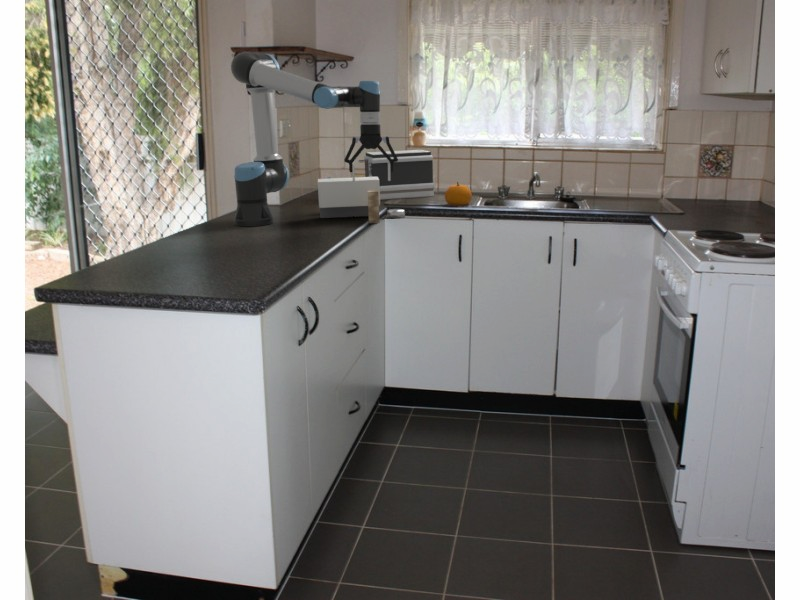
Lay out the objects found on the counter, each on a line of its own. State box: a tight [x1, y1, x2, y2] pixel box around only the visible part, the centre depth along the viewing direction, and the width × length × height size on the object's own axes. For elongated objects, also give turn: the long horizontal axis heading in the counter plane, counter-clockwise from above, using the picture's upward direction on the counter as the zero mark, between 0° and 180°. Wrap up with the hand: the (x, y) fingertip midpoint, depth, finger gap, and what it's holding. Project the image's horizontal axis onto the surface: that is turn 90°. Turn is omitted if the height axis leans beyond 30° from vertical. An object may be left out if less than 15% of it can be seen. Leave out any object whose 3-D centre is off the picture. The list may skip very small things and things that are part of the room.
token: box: [386, 208, 406, 220], centre depth 301 cm, size 7×7×3 cm
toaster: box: [358, 149, 435, 201], centre depth 360 cm, size 18×34×21 cm, turn 105°
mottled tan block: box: [368, 190, 380, 224], centre depth 295 cm, size 4×16×12 cm, turn 4°
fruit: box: [444, 181, 473, 207], centre depth 328 cm, size 12×12×10 cm
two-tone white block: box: [317, 176, 381, 219], centre depth 300 cm, size 24×12×16 cm, turn 95°
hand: (371, 180), depth 287 cm, fingers open, 13 cm apart
